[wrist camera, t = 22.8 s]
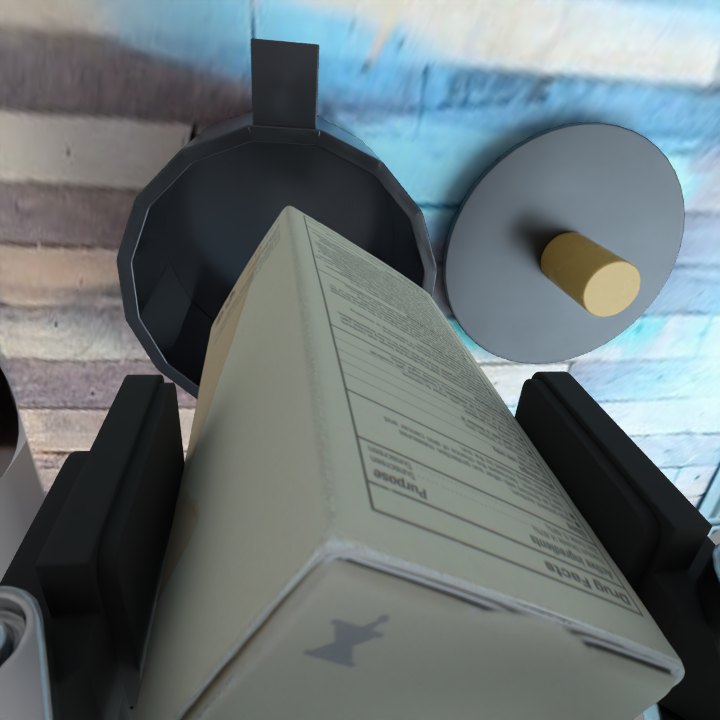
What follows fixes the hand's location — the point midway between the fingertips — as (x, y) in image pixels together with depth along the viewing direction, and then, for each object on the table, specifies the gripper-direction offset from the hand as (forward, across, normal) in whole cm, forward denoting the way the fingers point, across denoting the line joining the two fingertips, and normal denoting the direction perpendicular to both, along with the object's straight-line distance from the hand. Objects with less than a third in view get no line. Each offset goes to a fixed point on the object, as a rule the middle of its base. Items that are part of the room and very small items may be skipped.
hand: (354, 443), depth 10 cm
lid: (+20, -15, +2) cm, 25 cm away
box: (+6, 0, 0) cm, 6 cm away
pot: (+21, +1, +2) cm, 21 cm away
